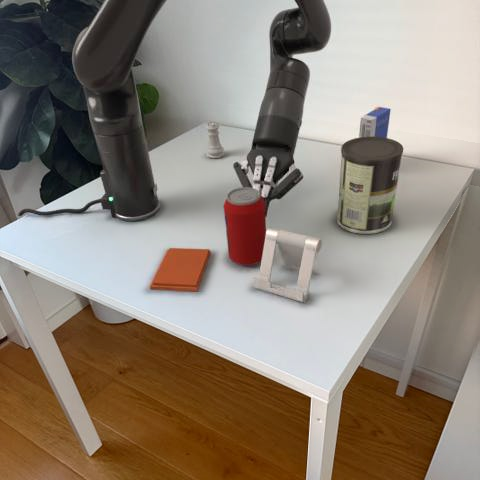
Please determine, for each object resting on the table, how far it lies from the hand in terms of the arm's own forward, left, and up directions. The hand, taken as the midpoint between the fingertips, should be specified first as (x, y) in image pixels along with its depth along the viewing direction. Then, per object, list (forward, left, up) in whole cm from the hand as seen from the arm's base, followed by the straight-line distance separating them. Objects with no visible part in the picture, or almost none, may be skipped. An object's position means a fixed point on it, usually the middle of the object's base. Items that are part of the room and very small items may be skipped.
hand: (256, 220), depth 84 cm
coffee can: (+19, +10, -5) cm, 22 cm away
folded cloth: (-12, -8, -5) cm, 16 cm away
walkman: (+21, +34, -6) cm, 40 cm away
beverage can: (-1, -4, -5) cm, 7 cm away
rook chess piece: (-16, +40, -6) cm, 43 cm away
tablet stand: (+6, -11, -6) cm, 14 cm away
